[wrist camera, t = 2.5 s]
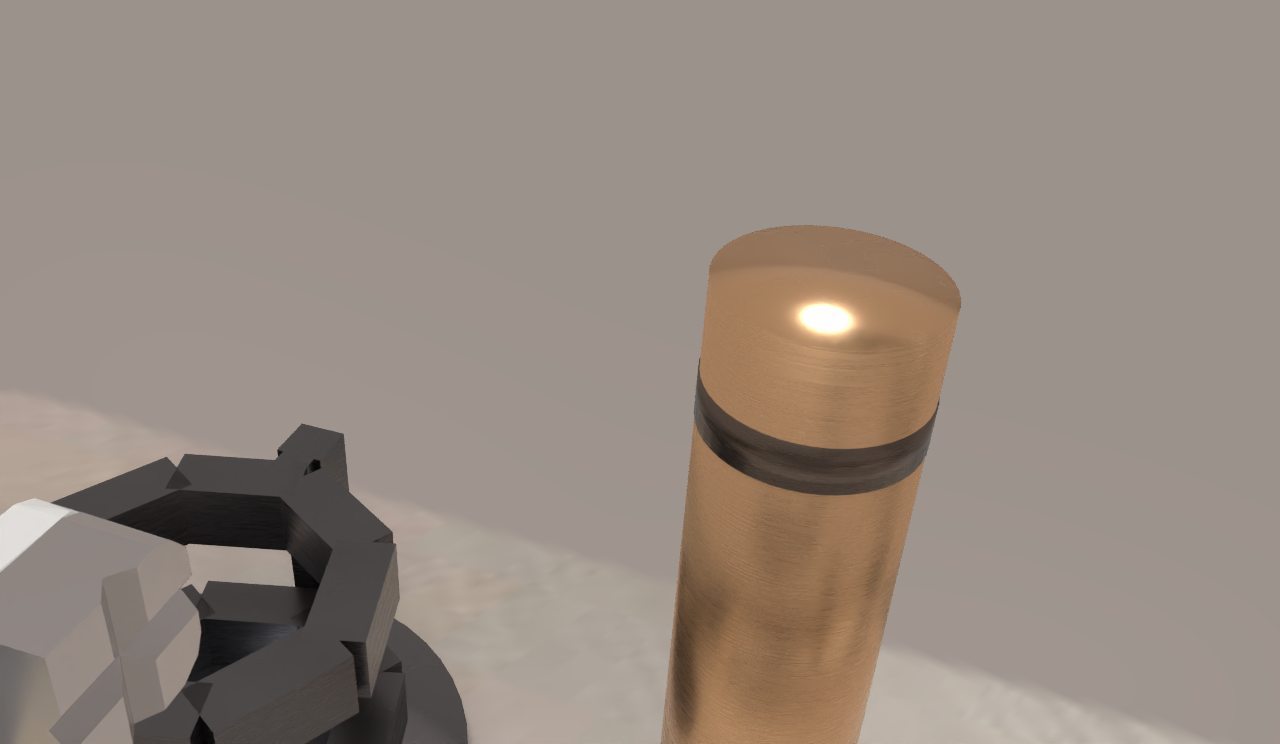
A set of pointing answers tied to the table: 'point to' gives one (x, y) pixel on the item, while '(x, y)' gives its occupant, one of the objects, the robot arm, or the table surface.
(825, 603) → the tube
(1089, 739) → the table surface
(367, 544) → the collar stand
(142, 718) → the robot arm
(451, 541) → the table surface
